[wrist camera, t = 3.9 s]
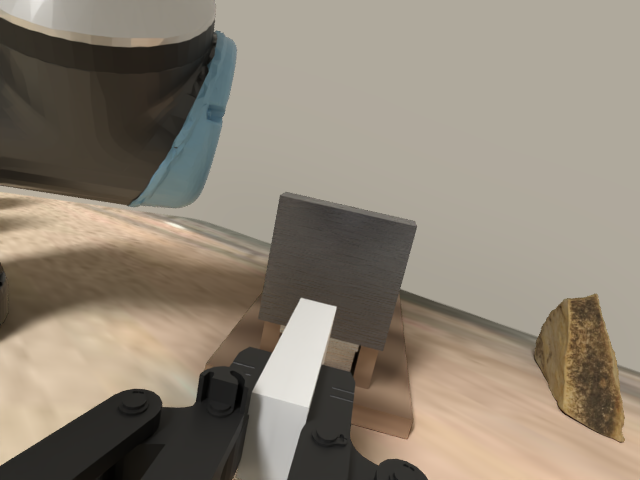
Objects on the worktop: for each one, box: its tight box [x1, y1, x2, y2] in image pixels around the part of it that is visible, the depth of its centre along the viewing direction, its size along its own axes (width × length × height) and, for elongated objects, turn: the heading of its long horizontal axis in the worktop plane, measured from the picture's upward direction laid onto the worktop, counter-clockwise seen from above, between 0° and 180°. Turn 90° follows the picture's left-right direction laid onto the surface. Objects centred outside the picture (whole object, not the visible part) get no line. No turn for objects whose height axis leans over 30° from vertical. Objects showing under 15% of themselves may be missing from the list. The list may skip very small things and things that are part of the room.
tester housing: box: [205, 292, 413, 439], centre depth 38 cm, size 24×14×8 cm, turn 172°
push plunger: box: [258, 192, 417, 372], centre depth 29 cm, size 8×8×12 cm
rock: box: [534, 294, 625, 442], centre depth 36 cm, size 11×9×10 cm
